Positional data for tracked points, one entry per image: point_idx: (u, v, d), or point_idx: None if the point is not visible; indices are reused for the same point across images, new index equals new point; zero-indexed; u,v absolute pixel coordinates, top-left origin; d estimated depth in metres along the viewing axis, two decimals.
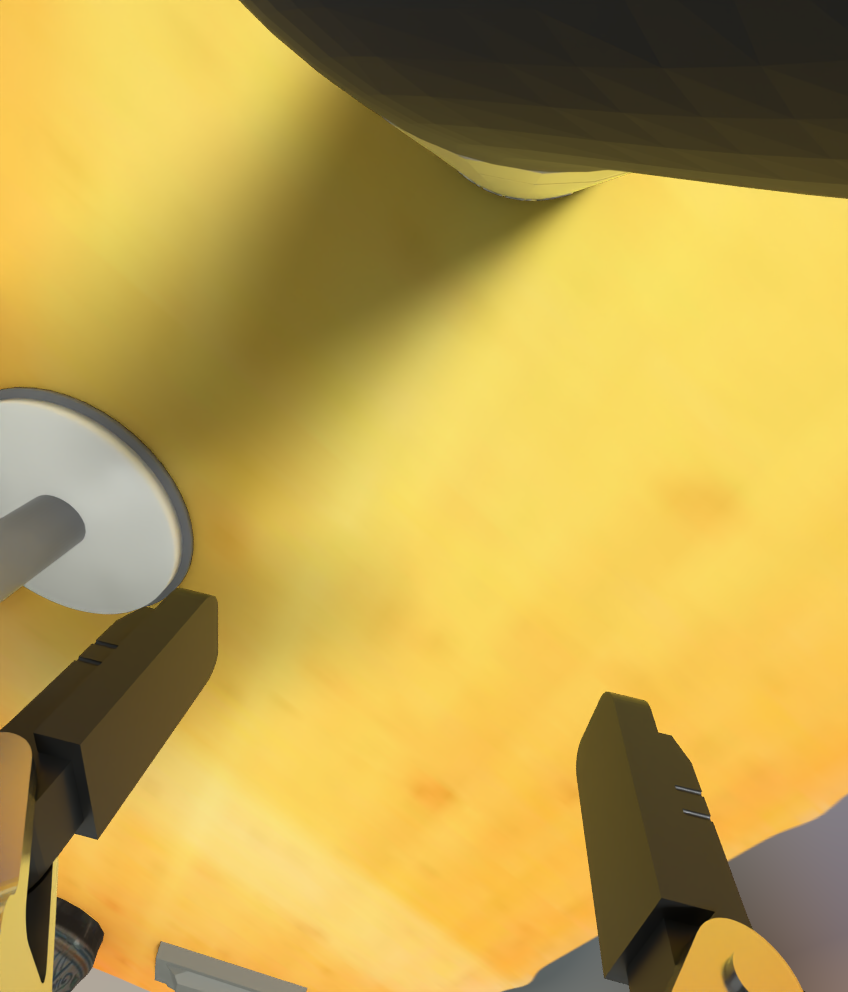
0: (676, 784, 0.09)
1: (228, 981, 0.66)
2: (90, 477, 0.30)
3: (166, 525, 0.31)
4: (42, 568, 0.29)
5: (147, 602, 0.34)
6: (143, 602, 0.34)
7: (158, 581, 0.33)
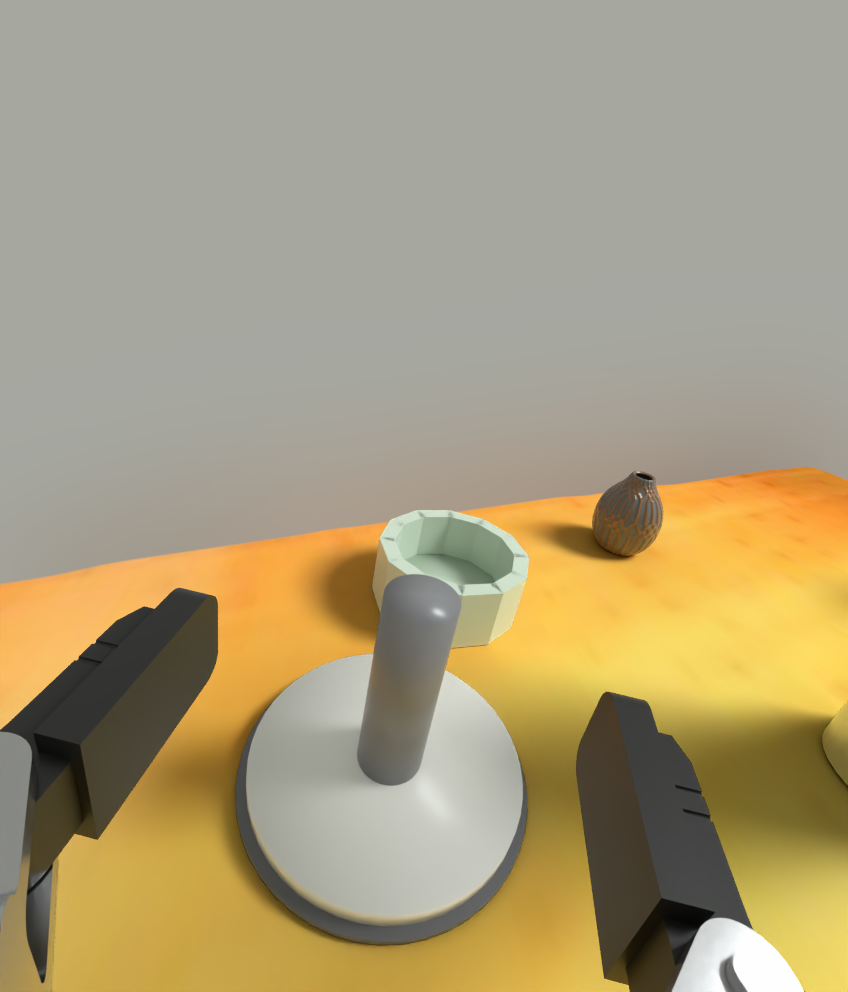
0: (676, 784, 0.09)
1: None
2: (469, 750, 0.30)
3: (511, 837, 0.26)
4: (409, 743, 0.26)
5: (386, 911, 0.22)
6: (381, 907, 0.22)
7: (437, 892, 0.23)
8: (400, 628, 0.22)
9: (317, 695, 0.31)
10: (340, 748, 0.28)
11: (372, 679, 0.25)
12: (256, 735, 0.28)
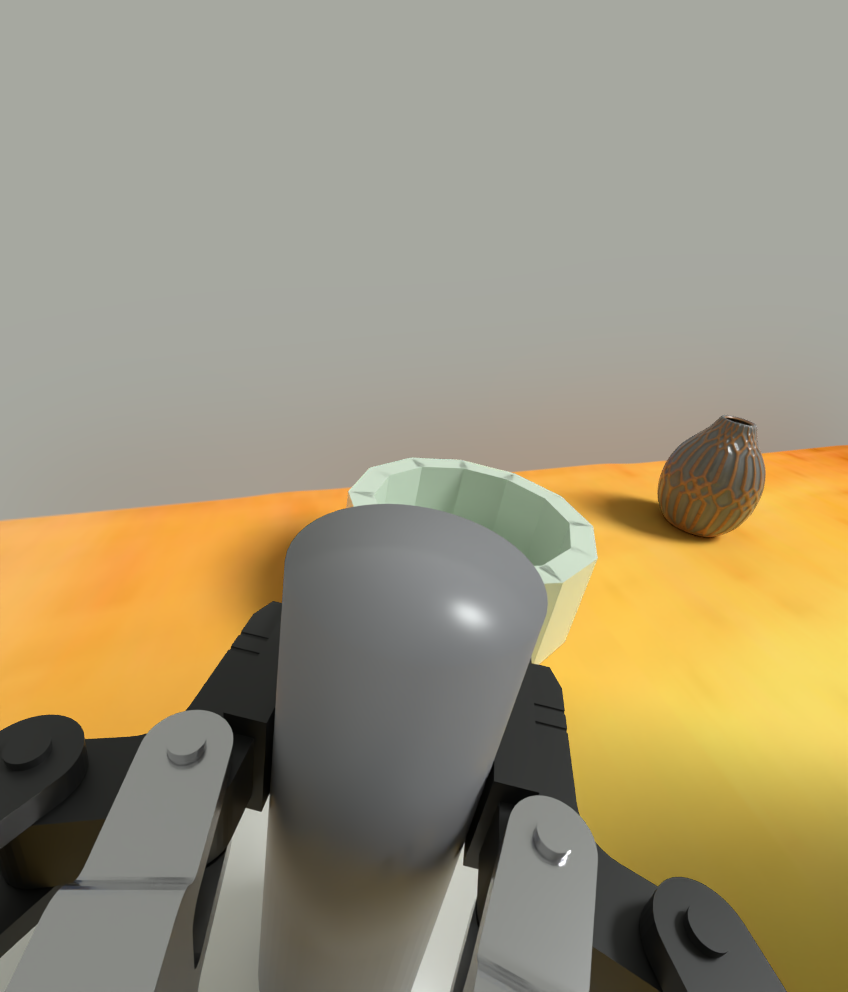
0: (542, 704, 0.10)
1: None
2: None
3: None
4: (379, 984, 0.09)
5: None
6: None
7: None
8: (333, 674, 0.06)
9: None
10: (220, 940, 0.12)
11: (270, 811, 0.09)
12: None
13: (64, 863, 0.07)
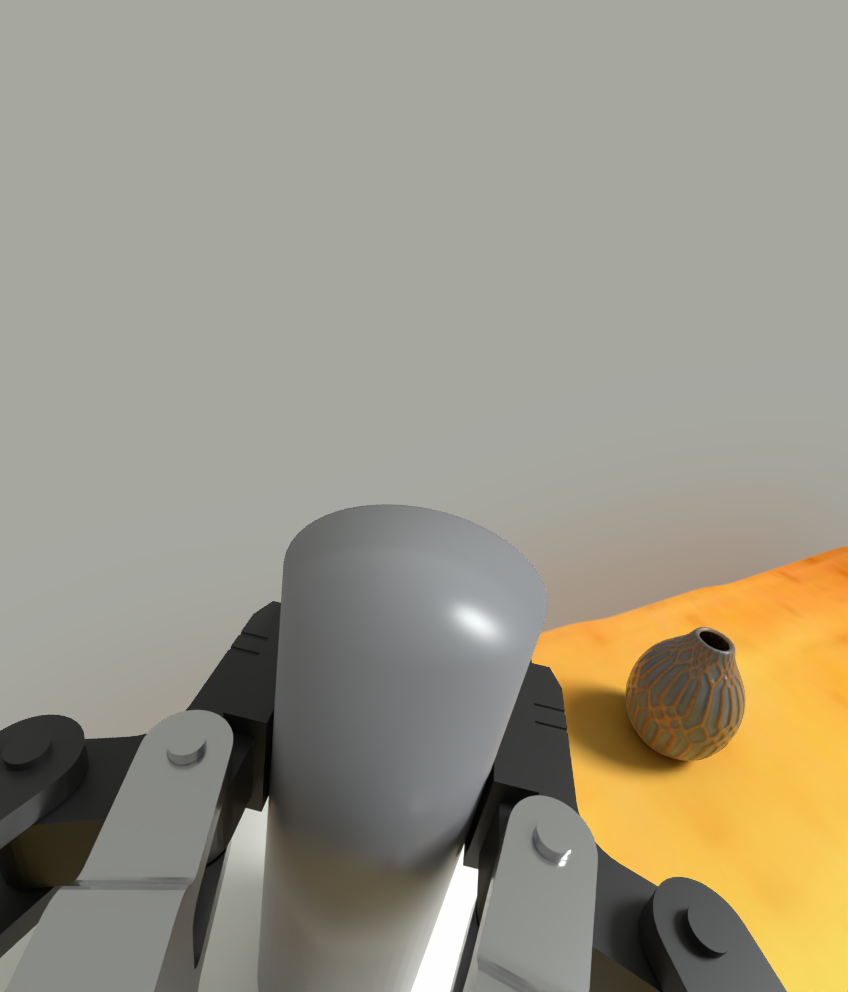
0: (542, 704, 0.10)
1: None
2: None
3: None
4: (378, 986, 0.09)
5: None
6: None
7: None
8: (331, 676, 0.06)
9: None
10: (220, 942, 0.12)
11: (269, 813, 0.08)
12: None
13: (64, 864, 0.07)
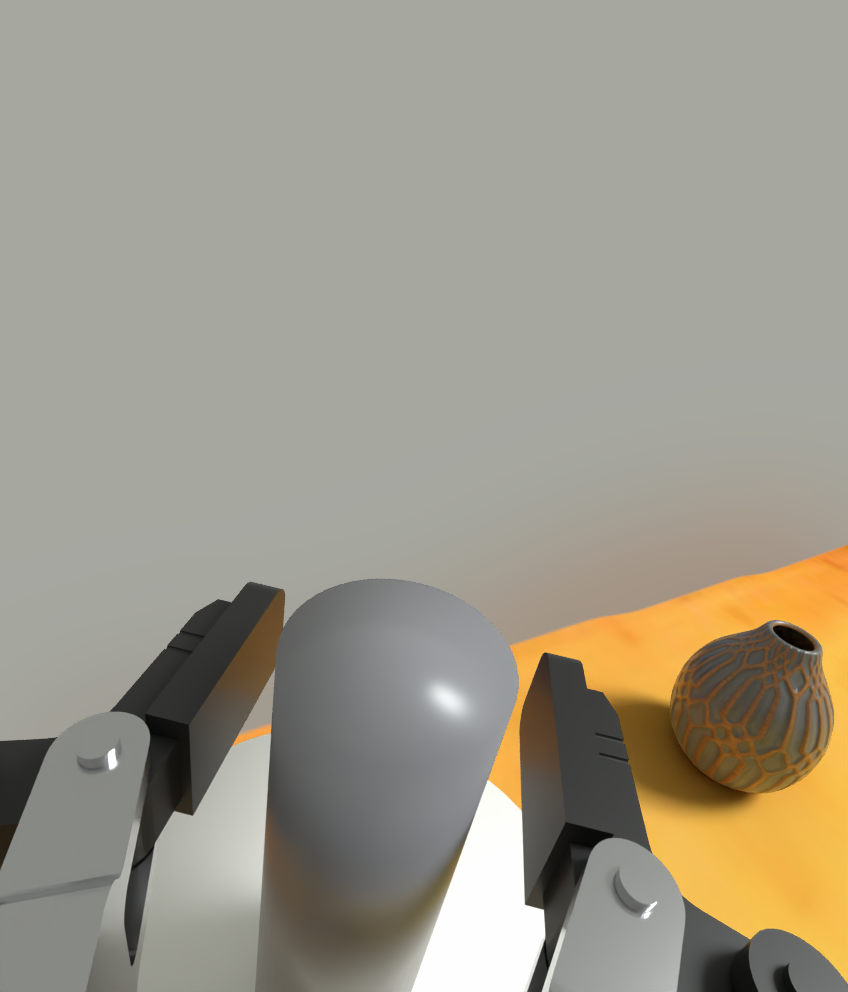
0: (600, 733, 0.09)
1: None
2: (509, 958, 0.14)
3: None
4: None
5: None
6: None
7: None
8: (319, 764, 0.06)
9: (194, 826, 0.15)
10: (218, 975, 0.12)
11: (264, 867, 0.09)
12: None
13: None
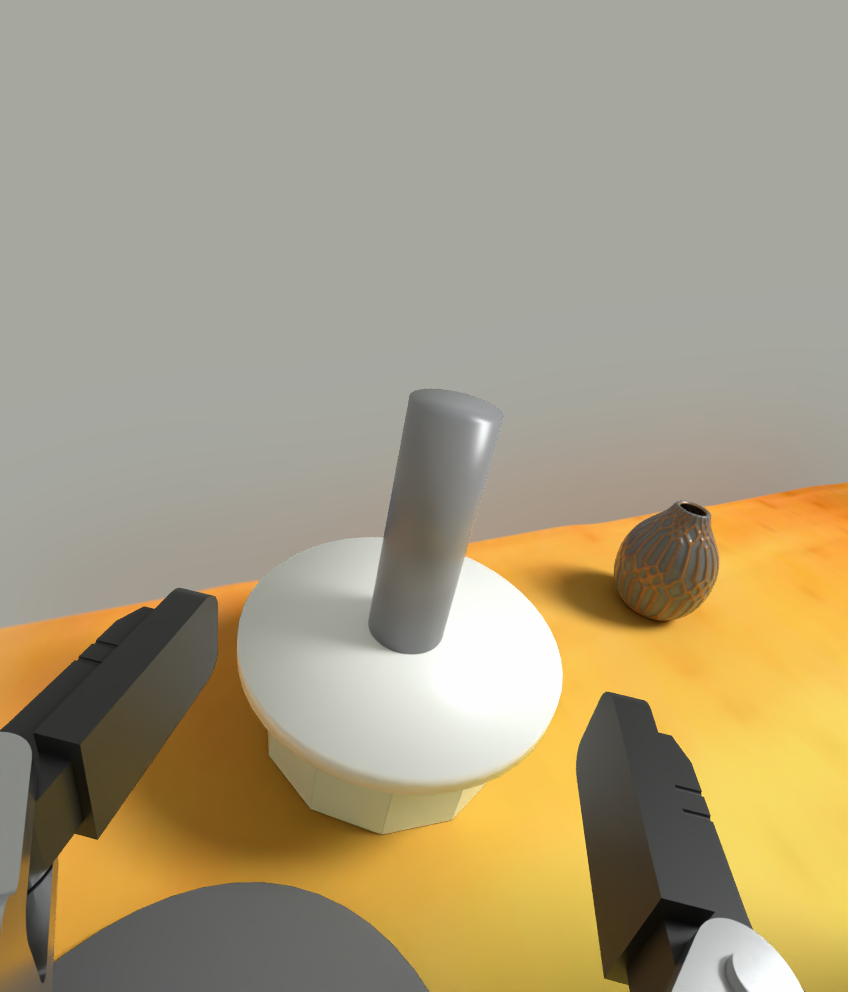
0: (676, 784, 0.09)
1: None
2: (498, 627, 0.25)
3: (553, 709, 0.22)
4: (433, 596, 0.21)
5: (410, 774, 0.18)
6: (402, 769, 0.18)
7: (469, 758, 0.19)
8: (431, 429, 0.18)
9: (320, 568, 0.27)
10: (348, 617, 0.24)
11: (391, 515, 0.21)
12: (249, 600, 0.24)
13: None
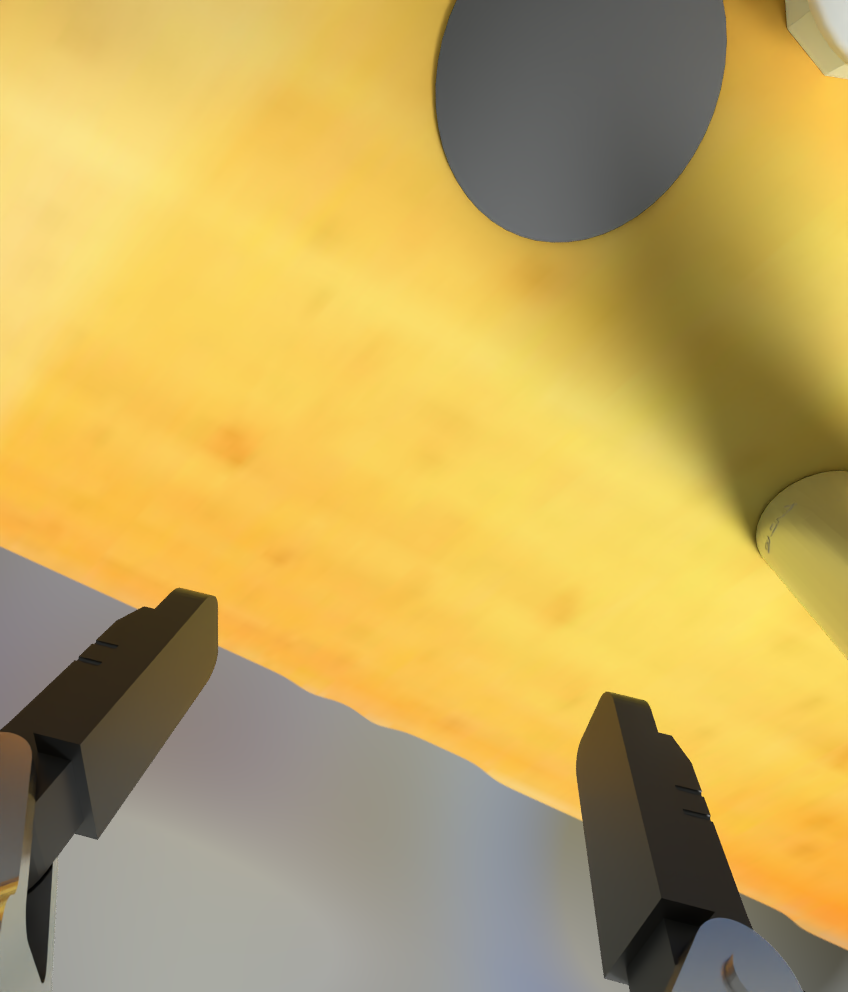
0: (676, 784, 0.09)
1: None
2: None
3: None
4: None
5: (825, 0, 0.23)
6: None
7: None
8: None
9: None
10: None
11: None
12: None
13: None
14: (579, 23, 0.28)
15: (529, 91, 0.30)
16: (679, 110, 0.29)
